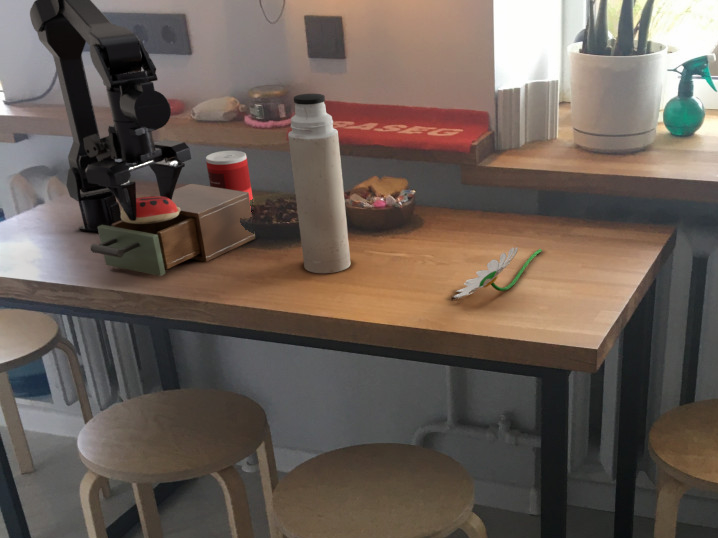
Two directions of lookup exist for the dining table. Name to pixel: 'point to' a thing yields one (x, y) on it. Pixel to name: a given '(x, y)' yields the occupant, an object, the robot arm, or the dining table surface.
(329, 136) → the thermos bottle
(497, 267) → the flower
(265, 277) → the dining table surface
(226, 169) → the canned food
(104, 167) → the robot arm
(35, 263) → the dining table surface
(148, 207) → the ladybug figurine
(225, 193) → the cabinet
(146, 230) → the drawer
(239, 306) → the dining table surface
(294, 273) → the dining table surface
